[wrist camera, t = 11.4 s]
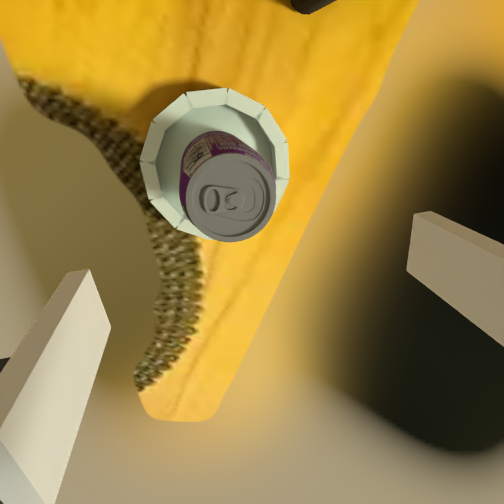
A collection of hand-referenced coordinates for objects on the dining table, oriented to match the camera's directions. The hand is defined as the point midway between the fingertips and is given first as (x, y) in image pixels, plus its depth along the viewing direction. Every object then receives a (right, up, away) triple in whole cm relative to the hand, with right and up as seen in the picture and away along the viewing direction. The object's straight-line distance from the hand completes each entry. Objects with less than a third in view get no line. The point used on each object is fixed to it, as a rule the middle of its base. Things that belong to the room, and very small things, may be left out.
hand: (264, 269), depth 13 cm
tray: (-4, +10, +20) cm, 23 cm away
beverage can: (-4, +9, +19) cm, 22 cm away
